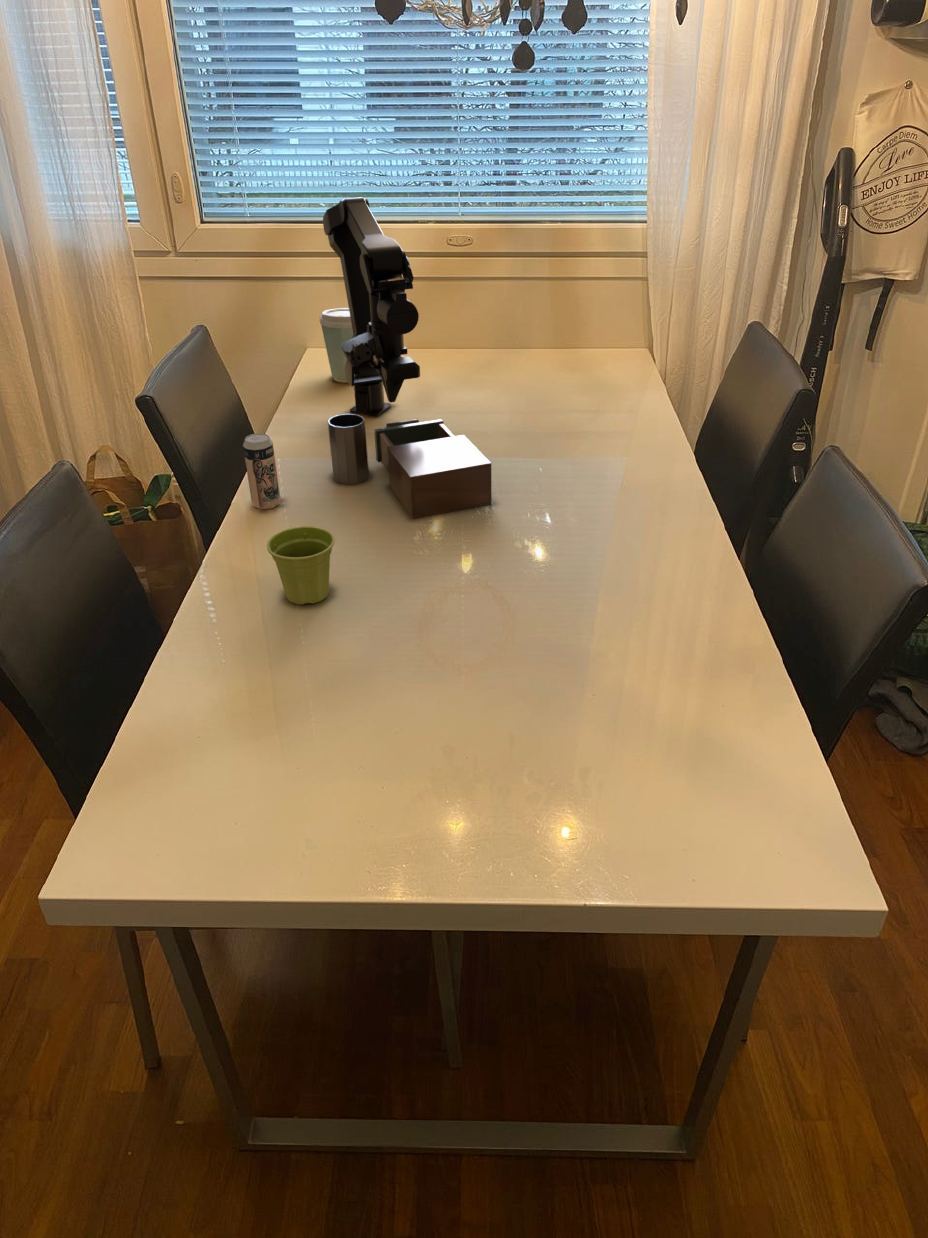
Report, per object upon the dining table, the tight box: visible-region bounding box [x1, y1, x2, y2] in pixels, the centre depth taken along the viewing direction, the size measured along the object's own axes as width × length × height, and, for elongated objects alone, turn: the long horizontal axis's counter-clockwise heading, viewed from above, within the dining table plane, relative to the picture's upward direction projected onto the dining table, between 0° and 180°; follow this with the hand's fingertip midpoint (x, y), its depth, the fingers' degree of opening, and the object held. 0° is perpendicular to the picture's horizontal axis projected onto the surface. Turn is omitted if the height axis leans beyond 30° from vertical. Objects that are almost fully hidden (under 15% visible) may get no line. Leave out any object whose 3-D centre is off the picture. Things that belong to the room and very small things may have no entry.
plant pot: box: [266, 525, 335, 606], centre depth 136 cm, size 9×9×9 cm
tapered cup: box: [327, 413, 370, 485], centre depth 169 cm, size 6×6×11 cm
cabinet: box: [387, 434, 492, 519], centre depth 162 cm, size 13×14×8 cm
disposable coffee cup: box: [318, 307, 355, 383], centre depth 211 cm, size 11×11×15 cm
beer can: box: [242, 432, 281, 510], centre depth 159 cm, size 5×5×12 cm
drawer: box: [373, 418, 455, 474], centre depth 172 cm, size 16×13×6 cm
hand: (391, 401), depth 181 cm, fingers closed
